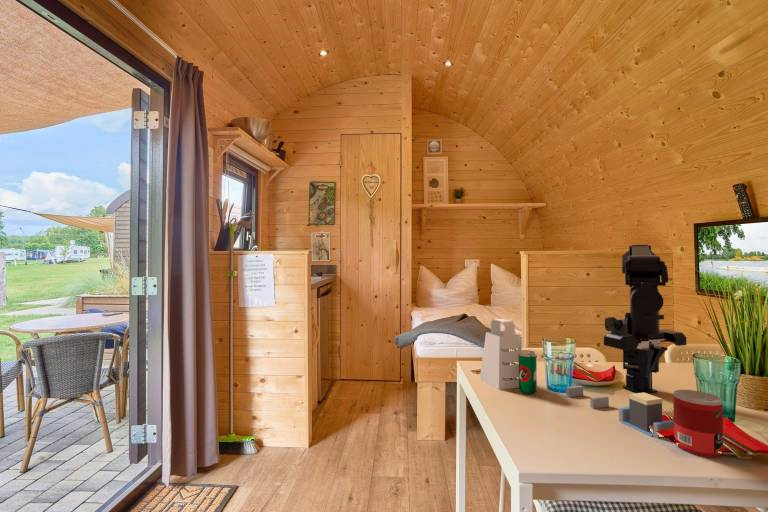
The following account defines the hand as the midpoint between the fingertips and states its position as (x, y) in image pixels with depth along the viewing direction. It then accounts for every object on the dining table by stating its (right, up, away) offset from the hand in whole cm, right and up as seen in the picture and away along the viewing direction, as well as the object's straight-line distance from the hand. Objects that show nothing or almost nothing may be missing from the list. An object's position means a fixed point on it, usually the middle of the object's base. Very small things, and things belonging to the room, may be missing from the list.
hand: (645, 376), depth 92 cm
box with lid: (0, -12, 0) cm, 12 cm away
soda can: (-18, -13, +25) cm, 33 cm away
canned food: (+4, -12, -11) cm, 16 cm away
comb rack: (-2, -12, +8) cm, 15 cm away
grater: (-23, -13, +34) cm, 43 cm away
